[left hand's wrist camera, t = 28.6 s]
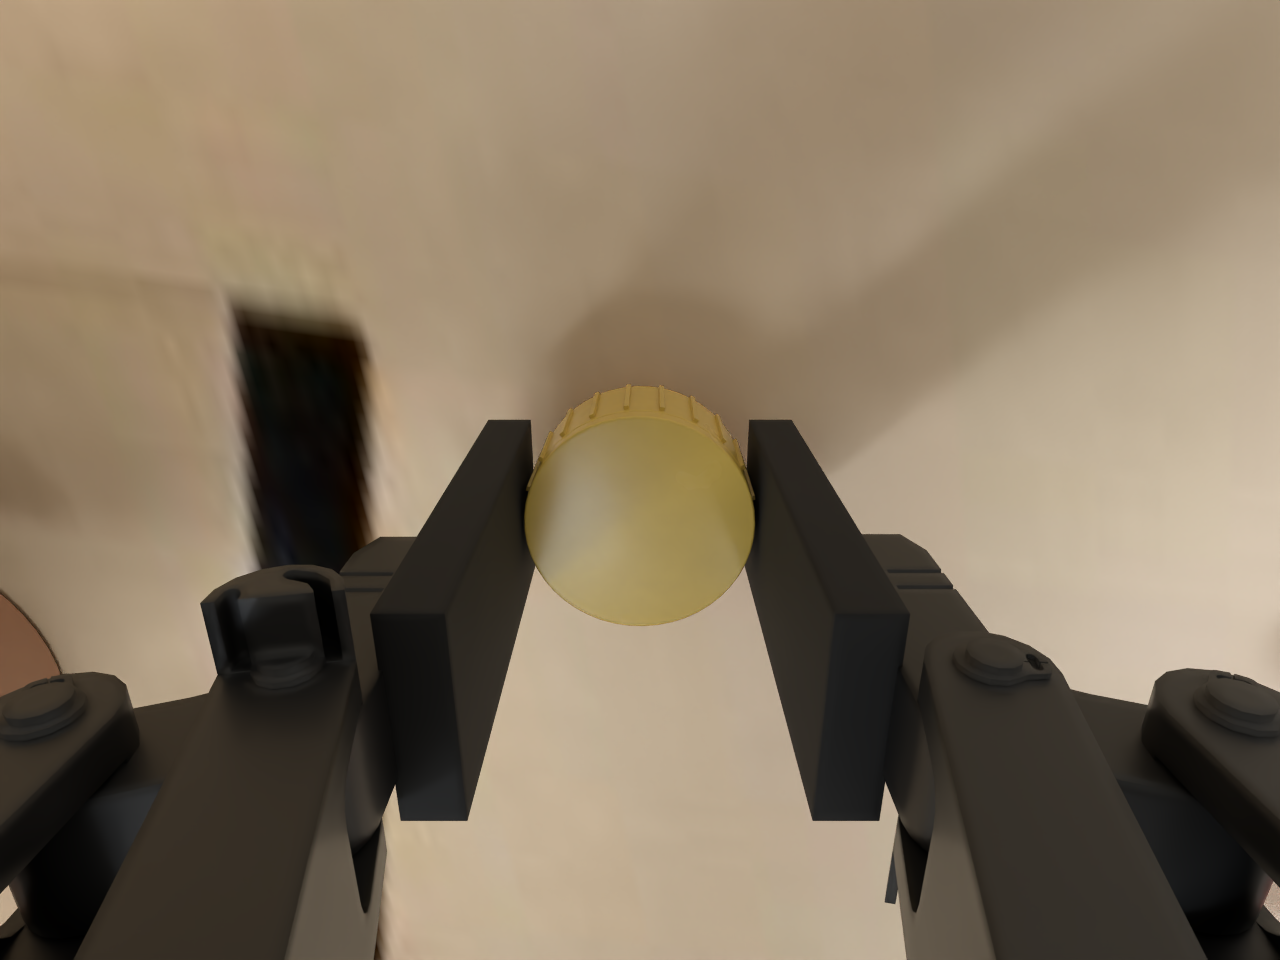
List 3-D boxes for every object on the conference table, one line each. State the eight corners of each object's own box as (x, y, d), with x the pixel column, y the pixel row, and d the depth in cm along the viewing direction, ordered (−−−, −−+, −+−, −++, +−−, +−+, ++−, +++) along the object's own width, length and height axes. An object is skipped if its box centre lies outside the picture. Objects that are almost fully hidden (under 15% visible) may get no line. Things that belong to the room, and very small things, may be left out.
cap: (784, 515, 14) (801, 561, 13) (610, 609, 15) (604, 665, 14) (677, 341, 13) (680, 366, 12) (495, 452, 14) (473, 492, 12)
